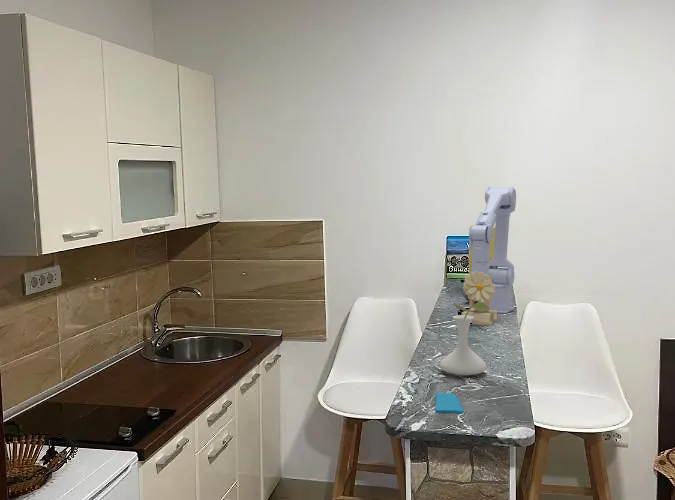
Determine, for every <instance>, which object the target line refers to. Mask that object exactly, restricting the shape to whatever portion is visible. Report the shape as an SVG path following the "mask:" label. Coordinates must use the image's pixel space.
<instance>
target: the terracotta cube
mask: <svg viewBox="0 0 675 500" xmlns="http://www.w3.org/2000/svg"><path fill="white" fill-rule="evenodd" d="M472 303H473V300H472V299H469V305H468V306H469V307H468V309H470V307H471V305H472ZM484 304H486V305H487V306H488V307H489V300H486V302H484ZM472 308H474V307H473V306H472Z"/></svg>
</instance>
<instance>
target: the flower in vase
mask: <svg viewBox="0 0 675 500" xmlns="http://www.w3.org/2000/svg"><path fill="white" fill-rule="evenodd" d="M489 278H490V277H489V276H488V275H487V274H484V273H483V272H480V273H479V272H477V271H475V272H474V273H471V276H470V275H468V274H467V275H465V277H464V282H463V288H462V290H463V292H464V294H465V293H466V295H468V298H469V299H472V300H473V303H472V305H471V307H470V308H468V309H467V308H465V307H464V306H461V305H458V304H457V303H455V302H453V304H454V307H455V308H456V309H458V310H461V311H462V312H464V311H466V312H467V310H468V312H467V313H466V315H462V314H461V315H460V314H459V315H454V316H452V318H453V320H454V322H455V323H456V327H457V333H458V342H457V346H456V347H455V348H454V350H453V351H451V352H450V353H449V354H447V355H446V356H445V357H443V358H442V359H441V360H440V362H439V364H438V366H439V368H440V370H442V371H444V372H445V373H448V374H452V375H456V376H475V375H478V374H481V373H483V372H485V371H486V370H487V368H488V366H487V363H486V362H485V361H484V360H483V359H482V357H480V356H478V354H476V352H474V351H473V350H472V349H471V348H470V346H469V339H468V338H469V330H470V329H469V328H470V325H471V324H470V323H471V321H472V320H473V319H474V317H473V316H468V315H467V314H468V313H469V311H470V310H471V308H472V306H473V307H474V308H475V309H476V310H477V311H478V312H485V311H488V310H490V308H489V307H488V306H487V305H486V304H484V302H486V300H489V299H490V298H493V293H494V292H495V290H494V289H495V286H494V284H493V283H492V280H491V279H489ZM475 301H478V303H476V304H474V302H475Z"/></svg>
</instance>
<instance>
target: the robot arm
mask: <svg viewBox="0 0 675 500" xmlns="http://www.w3.org/2000/svg"><path fill="white" fill-rule="evenodd" d="M484 200H485V203H486V206H485V209H484V210H482V211H481V212H480V213H479V215H478V216H477V217H478V218H477V220H476V222H475V224H472V225H473V227H471V228H470V231H469V232H468V239H470V247H471V248H472V262H471V273H474V272H475V271H477V272H479V273H480V272H483V273H484V274H487V275H488V276H489V277H490V278H489V279H491V280H492V283H493V284H494V286H495V289H494V290H495V292H494V293H493V298H490V299H489V308H490V310H496V311H497V314H498V313H501V314H507V313H509V312H512V311H513V310H514V309H515V308H514V307H512V294H513V293H512V289H511V287H512V285H513V284H514V282H515V267H514V264H513V263H512V262H510V260H508V241H509V232H510V231H509V230H510V229H509V228H510V217H511V213H513V212H515V210H516V207H517V206H516V204H517V192H516V189H515V188H514V187H513V186H511V187H490V186H489V187H487V188H486V189H485V192H484ZM494 225H495V237H494V251H493V259H492V260H490V261H489V243H490V242H491V240H492V234H493V226H494ZM493 267H496V268H493ZM468 275H470V276H471V274H469V273H468V274H467V276H468ZM476 303H478V301H475V302H474V304H476Z"/></svg>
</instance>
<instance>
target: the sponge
mask: <svg viewBox="0 0 675 500" xmlns="http://www.w3.org/2000/svg"><path fill="white" fill-rule="evenodd" d="M434 402H435V413H437V414H440V413H442V414H463V413H465V409H464V408H463V407H462V405H461V402H460V401H459V399H458V396H456V395H455V394H454V393H453V392H452V393H451V392H436V393H435V397H434Z"/></svg>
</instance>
